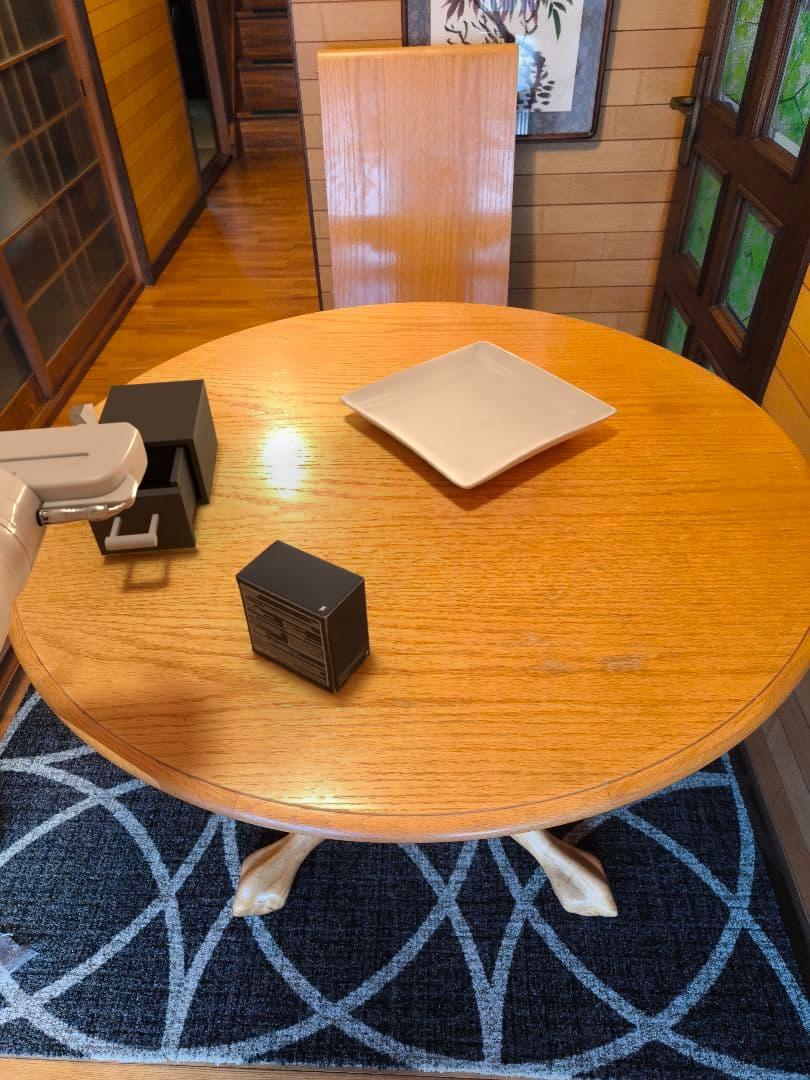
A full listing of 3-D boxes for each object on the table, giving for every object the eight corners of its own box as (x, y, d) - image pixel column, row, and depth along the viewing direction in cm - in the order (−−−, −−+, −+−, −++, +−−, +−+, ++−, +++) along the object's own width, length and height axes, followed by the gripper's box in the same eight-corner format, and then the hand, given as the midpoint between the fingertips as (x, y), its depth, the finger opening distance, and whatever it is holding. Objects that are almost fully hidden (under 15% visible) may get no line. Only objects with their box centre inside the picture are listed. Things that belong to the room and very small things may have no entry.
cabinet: (209, 503, 93) (193, 438, 87) (112, 511, 93) (89, 446, 86) (217, 441, 104) (203, 378, 97) (130, 448, 103) (111, 385, 96)
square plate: (617, 432, 103) (621, 407, 101) (463, 512, 91) (464, 487, 88) (483, 357, 120) (484, 334, 117) (337, 417, 107) (335, 393, 105)
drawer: (191, 576, 83) (175, 521, 77) (93, 585, 82) (70, 530, 77) (205, 481, 95) (192, 428, 90) (120, 488, 95) (102, 435, 90)
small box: (374, 651, 75) (369, 574, 68) (335, 697, 71) (325, 621, 64) (291, 610, 80) (277, 534, 73) (249, 651, 76) (231, 575, 69)
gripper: (117, 476, 49) (148, 370, 59) (-217, 503, 47) (-126, 390, 58) (142, 549, 53) (167, 439, 63) (-165, 576, 52) (-88, 459, 62)
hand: (25, 416), depth 61 cm, fingers open, 8 cm apart
